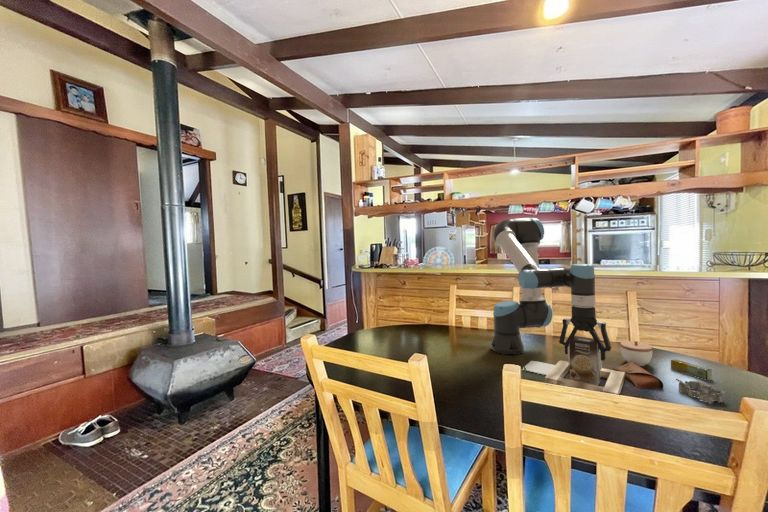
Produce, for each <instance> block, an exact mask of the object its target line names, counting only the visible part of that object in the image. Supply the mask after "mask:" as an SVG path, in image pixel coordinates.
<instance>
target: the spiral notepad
mask: <svg viewBox="0 0 768 512" xmlns="http://www.w3.org/2000/svg"><path fill="white" fill-rule="evenodd" d="M555 365H556V364H552V363H545V362H542V361H538V360H537V361H535V360H530V361H529V362H528V363H527V364H526V365H525V366H524V367H525V368H526V370H527V371H530V372H534V373H533V374H535V373H537V374H536V375H539V374H542V375H541V376H544V375H547V374H548V373H549V372H550V371H551V370H552V369H553V367H554V366H555ZM524 367H522V368H523V369H522V368H521V371H522V370H524ZM530 372H529V373H530Z"/></svg>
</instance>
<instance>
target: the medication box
mask: <svg viewBox="0 0 768 512" xmlns="http://www.w3.org/2000/svg"><path fill="white" fill-rule="evenodd" d="M670 370H673V371H676V372H678V373H682V374H685V375H689V376H691V375H692V377H694V376H696V377H695V378H697V377H699V378H698V379H700V378H703V379H706V380H705V381H707V380H709V379H713V378H712V377H713V376H712V375H713V369H711V368H708V367H704V366H701V365H698V364H694V363H692V362H691V363H690V362H687V361H684V360H679V359H676V358H675V359H674V358H672V359H671V360H670ZM703 379H702V380H703ZM709 381H710V380H709Z"/></svg>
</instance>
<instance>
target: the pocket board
mask: <svg viewBox="0 0 768 512" xmlns="http://www.w3.org/2000/svg"><path fill="white" fill-rule="evenodd" d="M554 365H555V366H554V367H553V369H552V370H551V371H550V372H549V373H548V374H547V375H546V376H544V383H545V382H547V383H553V384H560V385H564V386H571V387H577V388H583V389H589V390H595V391H601V392H608V393H613V394H620V395H621V392H622V389H623V386H624V383H625V379H626V378H625V372H620V371H615V370H613V369H609V368H603V367H602V369H601V370H600V378H605V379H607V380H606V382H605V385H604V386H602V385H601V386H600V385H598V386H597V385H592V384H588V383H583V382H579V381H574V380H570V378H564V377H566V375H567V373H568V372H570V364H568V360H567V361H566V360H559V361H557V362H556V364H554Z"/></svg>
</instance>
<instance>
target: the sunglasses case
mask: <svg viewBox="0 0 768 512" xmlns="http://www.w3.org/2000/svg"><path fill="white" fill-rule="evenodd" d="M612 370H615V371H620V372H625V379H626V380H627V381H628V382H630V383H631V384H632V385H633V386H634V387H636V388H637V389H638V388H639V389H642V388H643V389H664V383H663V381H662V380H661V379H660V378H658V377H657V376H655V375H653V374H652V373H651V372H649V371H647V370H646V369H644V368H643V367H642V366H638V365H636V364H634V363H633V362H632V361H631V362H629V363H628V362H626V363H625V364H622V365H619V366H616V367H614V368H612Z"/></svg>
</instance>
